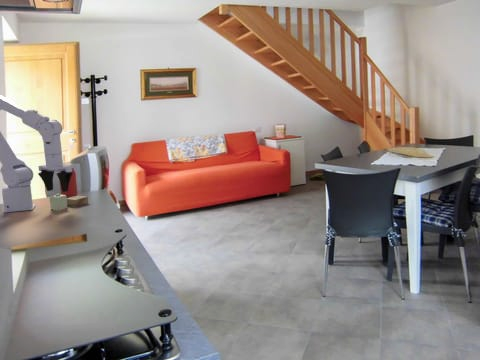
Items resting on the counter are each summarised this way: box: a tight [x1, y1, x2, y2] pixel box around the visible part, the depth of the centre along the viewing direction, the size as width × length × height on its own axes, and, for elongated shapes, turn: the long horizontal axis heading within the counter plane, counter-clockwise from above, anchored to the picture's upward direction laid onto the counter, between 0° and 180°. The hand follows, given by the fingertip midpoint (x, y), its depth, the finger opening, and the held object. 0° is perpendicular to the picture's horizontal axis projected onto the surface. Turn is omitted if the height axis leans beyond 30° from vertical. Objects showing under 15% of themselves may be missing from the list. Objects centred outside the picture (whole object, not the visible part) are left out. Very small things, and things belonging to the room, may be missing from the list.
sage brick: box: [49, 193, 68, 211], centre depth 156 cm, size 4×4×6 cm
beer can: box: [58, 167, 79, 198], centre depth 177 cm, size 7×7×12 cm
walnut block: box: [67, 195, 89, 208], centre depth 163 cm, size 6×6×3 cm
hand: (57, 190), depth 155 cm, fingers open, 7 cm apart
